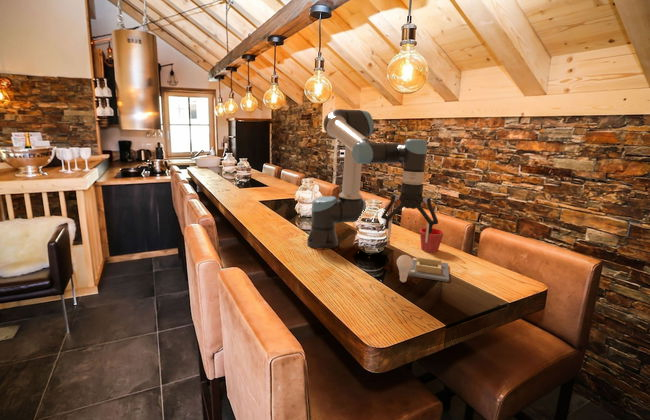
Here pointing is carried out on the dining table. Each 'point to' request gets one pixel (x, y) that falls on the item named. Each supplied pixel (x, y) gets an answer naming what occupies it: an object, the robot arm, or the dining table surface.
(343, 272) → the dining table surface
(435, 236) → the flower pot
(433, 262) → the board
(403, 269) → the lightbulb
